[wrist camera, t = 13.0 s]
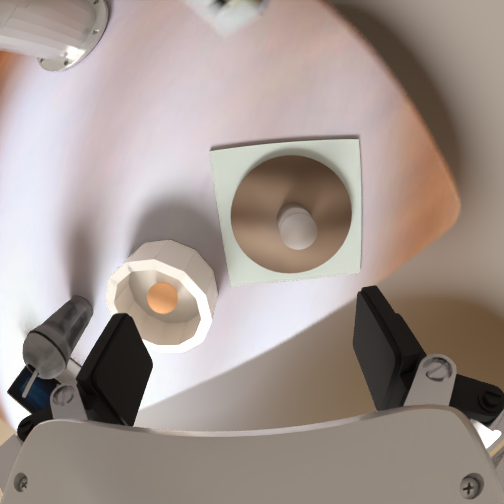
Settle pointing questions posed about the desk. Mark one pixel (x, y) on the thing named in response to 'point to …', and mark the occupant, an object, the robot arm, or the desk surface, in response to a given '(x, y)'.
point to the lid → (291, 214)
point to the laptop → (40, 387)
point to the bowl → (185, 283)
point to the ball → (162, 297)
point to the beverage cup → (55, 340)
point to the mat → (248, 157)
